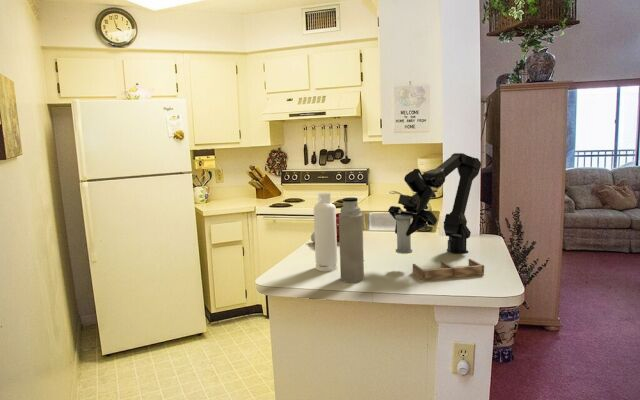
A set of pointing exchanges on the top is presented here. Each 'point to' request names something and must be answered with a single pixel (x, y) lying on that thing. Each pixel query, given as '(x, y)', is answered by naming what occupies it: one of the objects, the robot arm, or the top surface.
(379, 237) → the top surface
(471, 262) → the rack
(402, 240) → the cord reel
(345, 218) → the thermos bottle
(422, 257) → the top surface
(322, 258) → the bottle
